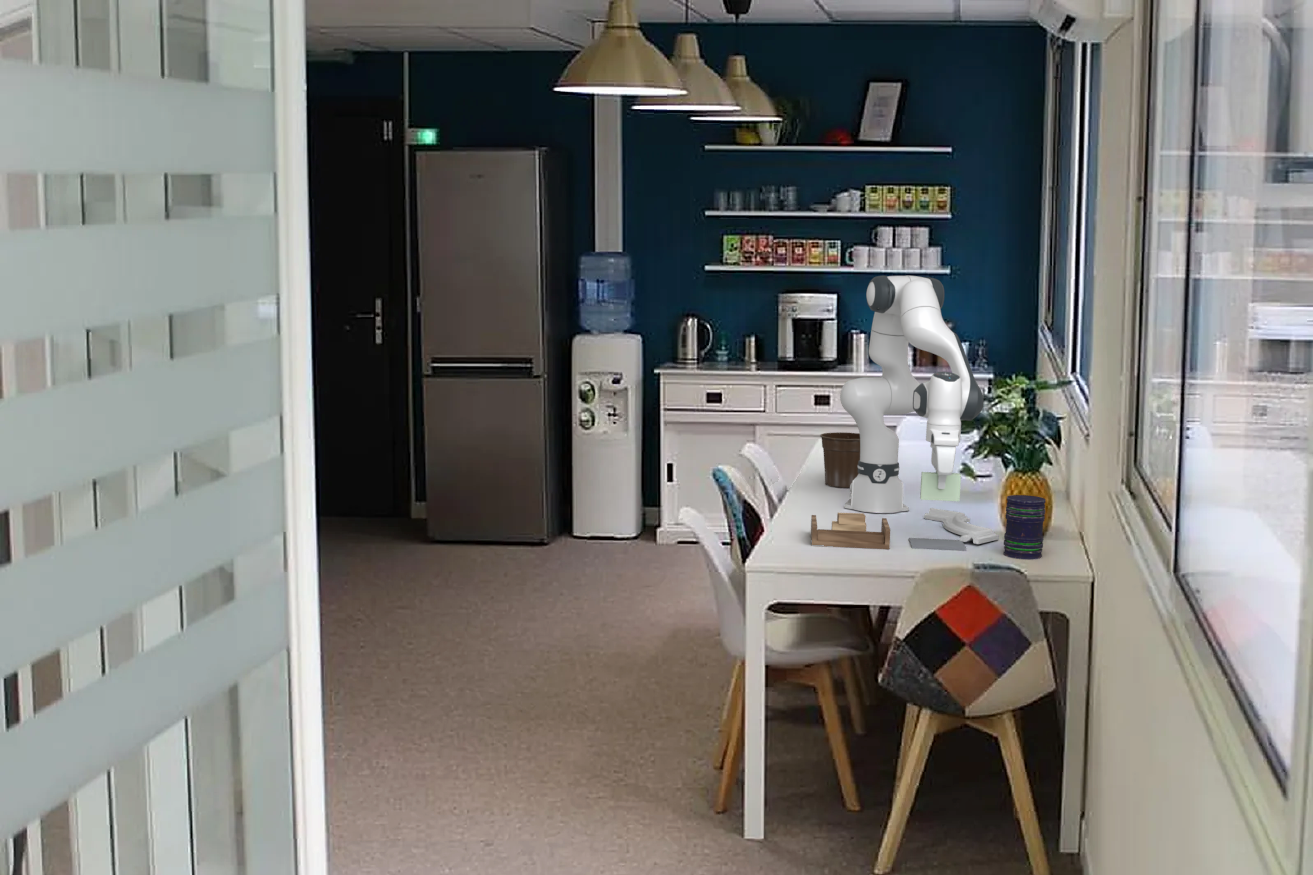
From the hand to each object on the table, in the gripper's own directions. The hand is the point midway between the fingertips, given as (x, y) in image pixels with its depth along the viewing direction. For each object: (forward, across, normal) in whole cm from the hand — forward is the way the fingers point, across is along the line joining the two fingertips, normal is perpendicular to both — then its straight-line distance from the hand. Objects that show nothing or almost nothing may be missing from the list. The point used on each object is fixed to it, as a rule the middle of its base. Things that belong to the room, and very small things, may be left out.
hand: (940, 487), depth 425 cm
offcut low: (+14, -5, -23) cm, 28 cm away
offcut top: (+11, -5, -23) cm, 26 cm away
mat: (+15, 0, 0) cm, 15 cm away
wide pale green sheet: (+3, 0, 0) cm, 3 cm away
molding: (+15, -22, +7) cm, 27 cm away
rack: (+15, 0, -23) cm, 28 cm away
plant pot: (+15, -92, -21) cm, 95 cm away
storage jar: (+16, +8, +21) cm, 27 cm away
